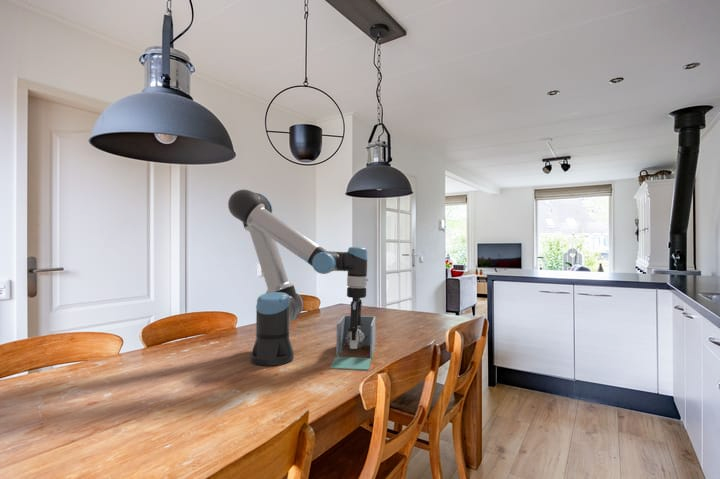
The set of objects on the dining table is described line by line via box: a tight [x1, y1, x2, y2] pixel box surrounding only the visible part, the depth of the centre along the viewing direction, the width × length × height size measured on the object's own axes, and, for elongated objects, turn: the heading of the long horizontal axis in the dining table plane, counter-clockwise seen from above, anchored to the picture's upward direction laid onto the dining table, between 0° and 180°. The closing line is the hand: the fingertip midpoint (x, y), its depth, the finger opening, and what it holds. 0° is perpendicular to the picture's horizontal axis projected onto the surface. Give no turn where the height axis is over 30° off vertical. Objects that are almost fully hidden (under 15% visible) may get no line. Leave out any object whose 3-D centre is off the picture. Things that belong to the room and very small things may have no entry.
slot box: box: [335, 314, 376, 359], centre depth 147 cm, size 13×18×12 cm
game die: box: [343, 327, 368, 351], centre depth 144 cm, size 9×8×10 cm
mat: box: [329, 356, 372, 371], centre depth 130 cm, size 13×12×1 cm
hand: (355, 345), depth 144 cm, fingers closed on game die, 8 cm apart
